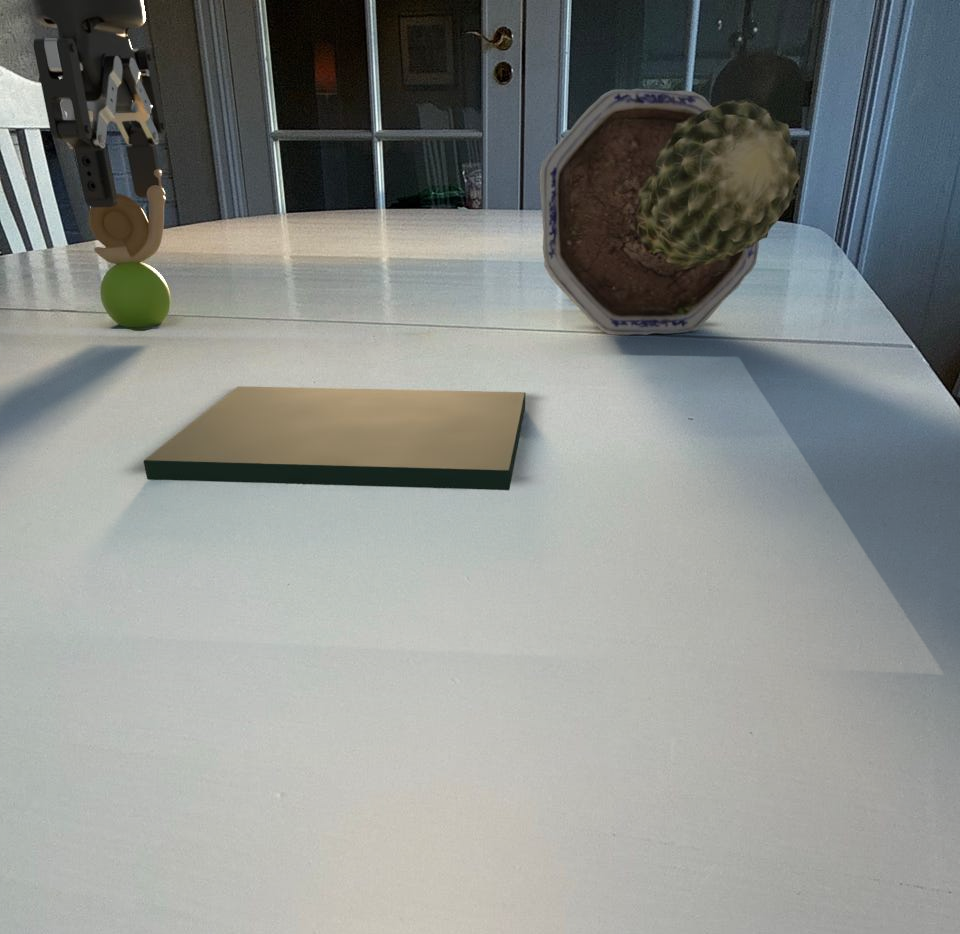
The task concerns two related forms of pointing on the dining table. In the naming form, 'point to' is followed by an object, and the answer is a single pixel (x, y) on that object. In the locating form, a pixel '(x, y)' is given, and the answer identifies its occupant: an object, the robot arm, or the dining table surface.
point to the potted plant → (662, 206)
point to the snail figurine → (132, 259)
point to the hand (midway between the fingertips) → (127, 201)
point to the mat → (349, 439)
